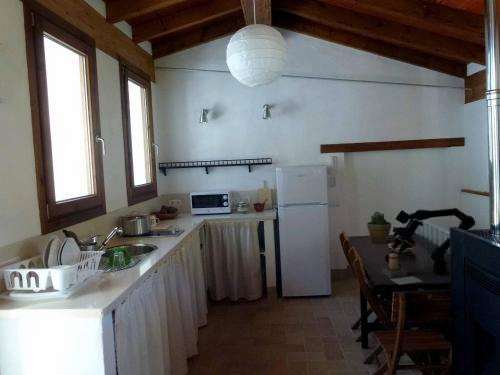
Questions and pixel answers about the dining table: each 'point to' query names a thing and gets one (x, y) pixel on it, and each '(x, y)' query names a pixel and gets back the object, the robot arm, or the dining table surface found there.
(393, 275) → the clamp block
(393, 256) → the tan upright cylinder
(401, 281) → the pad
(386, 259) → the microphone
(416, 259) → the dining table surface
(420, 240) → the dining table surface
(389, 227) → the potted plant
